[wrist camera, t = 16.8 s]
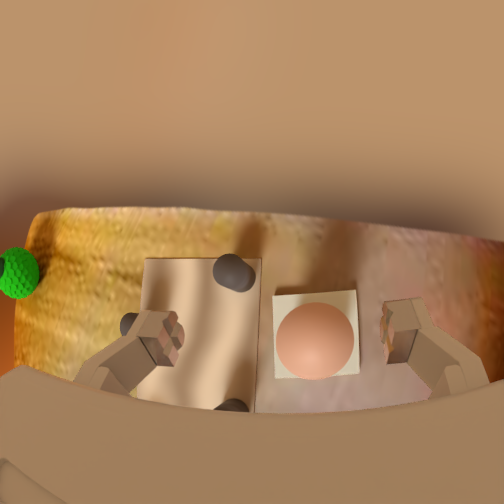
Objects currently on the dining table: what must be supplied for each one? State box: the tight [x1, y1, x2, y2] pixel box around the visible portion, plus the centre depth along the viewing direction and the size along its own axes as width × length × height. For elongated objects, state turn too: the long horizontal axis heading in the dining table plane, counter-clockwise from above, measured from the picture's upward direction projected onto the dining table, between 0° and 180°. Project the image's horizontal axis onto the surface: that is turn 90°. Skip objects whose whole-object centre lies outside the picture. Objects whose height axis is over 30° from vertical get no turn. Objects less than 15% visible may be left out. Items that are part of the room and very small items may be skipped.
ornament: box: [0, 247, 39, 299], centre depth 33 cm, size 8×8×10 cm
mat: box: [273, 290, 359, 378], centre depth 26 cm, size 8×8×1 cm
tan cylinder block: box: [276, 302, 354, 380], centre depth 22 cm, size 5×5×9 cm
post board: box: [120, 254, 262, 413], centre depth 27 cm, size 14×24×5 cm, turn 178°
